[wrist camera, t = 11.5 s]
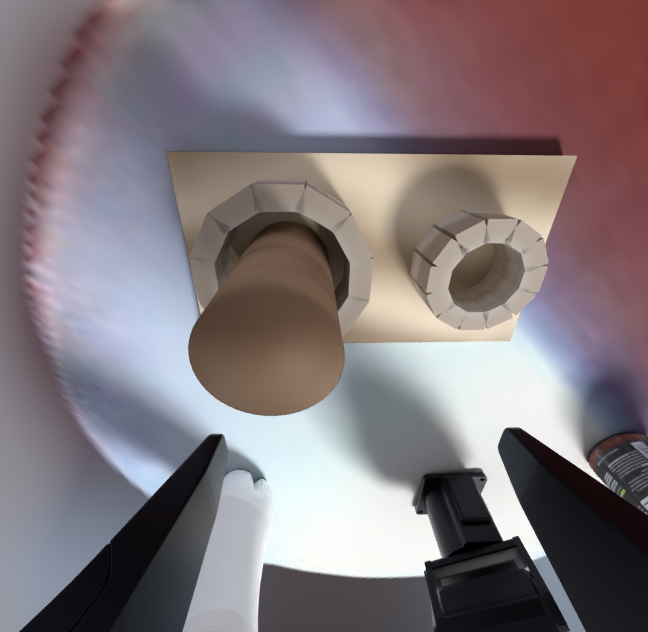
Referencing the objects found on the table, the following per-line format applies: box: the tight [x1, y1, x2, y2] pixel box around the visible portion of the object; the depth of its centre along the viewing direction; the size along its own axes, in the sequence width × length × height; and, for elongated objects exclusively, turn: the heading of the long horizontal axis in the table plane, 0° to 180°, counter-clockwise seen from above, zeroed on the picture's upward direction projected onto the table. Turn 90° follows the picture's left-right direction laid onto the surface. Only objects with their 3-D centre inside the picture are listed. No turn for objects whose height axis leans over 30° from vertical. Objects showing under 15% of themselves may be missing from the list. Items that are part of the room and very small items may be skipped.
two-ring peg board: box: [166, 151, 577, 343], centre depth 18 cm, size 12×22×4 cm, turn 89°
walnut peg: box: [188, 221, 345, 416], centre depth 14 cm, size 5×5×10 cm
